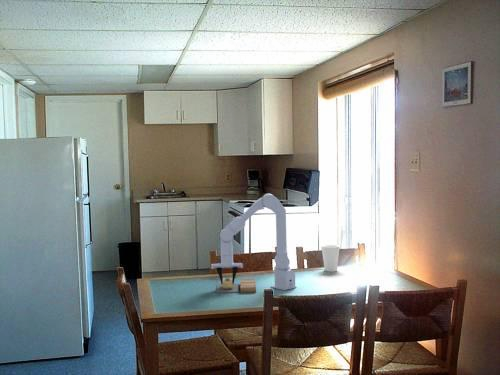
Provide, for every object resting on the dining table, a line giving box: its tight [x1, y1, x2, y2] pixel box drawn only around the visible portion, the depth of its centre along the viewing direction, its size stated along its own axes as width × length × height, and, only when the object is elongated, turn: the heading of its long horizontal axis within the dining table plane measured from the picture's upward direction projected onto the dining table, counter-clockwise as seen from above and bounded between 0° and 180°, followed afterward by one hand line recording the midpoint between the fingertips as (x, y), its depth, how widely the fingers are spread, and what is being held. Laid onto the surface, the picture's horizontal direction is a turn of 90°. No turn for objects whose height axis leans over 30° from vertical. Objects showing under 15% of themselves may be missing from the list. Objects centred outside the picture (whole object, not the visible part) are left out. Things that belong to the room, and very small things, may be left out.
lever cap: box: [222, 276, 233, 289], centre depth 272 cm, size 7×4×4 cm, turn 2°
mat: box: [215, 283, 240, 294], centre depth 272 cm, size 16×10×1 cm, turn 1°
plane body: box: [239, 278, 257, 294], centre depth 272 cm, size 18×7×2 cm, turn 1°
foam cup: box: [321, 243, 341, 272], centre depth 309 cm, size 10×9×13 cm
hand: (227, 283), depth 272 cm, fingers closed on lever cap, 4 cm apart
